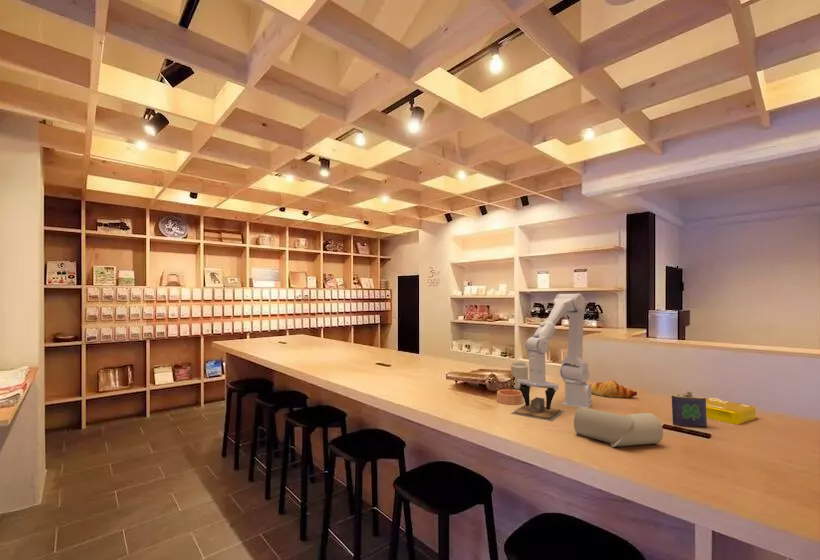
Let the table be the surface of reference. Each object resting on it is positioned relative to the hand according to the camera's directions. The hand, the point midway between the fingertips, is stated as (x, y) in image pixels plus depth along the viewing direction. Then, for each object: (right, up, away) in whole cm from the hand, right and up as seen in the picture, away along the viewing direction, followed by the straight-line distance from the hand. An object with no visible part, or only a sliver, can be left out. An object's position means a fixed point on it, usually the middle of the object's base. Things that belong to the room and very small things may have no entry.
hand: (537, 407), depth 142 cm
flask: (+46, -2, -14) cm, 48 cm away
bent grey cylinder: (+14, -1, -27) cm, 30 cm away
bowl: (-6, -3, +15) cm, 16 cm away
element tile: (+65, -2, -4) cm, 65 cm away
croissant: (+40, -4, +26) cm, 48 cm away
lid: (0, -2, 0) cm, 2 cm away
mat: (0, -2, 0) cm, 2 cm away
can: (+4, -4, +39) cm, 40 cm away
